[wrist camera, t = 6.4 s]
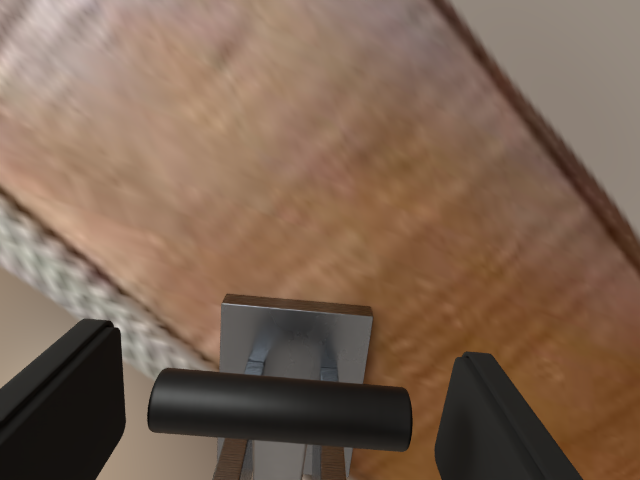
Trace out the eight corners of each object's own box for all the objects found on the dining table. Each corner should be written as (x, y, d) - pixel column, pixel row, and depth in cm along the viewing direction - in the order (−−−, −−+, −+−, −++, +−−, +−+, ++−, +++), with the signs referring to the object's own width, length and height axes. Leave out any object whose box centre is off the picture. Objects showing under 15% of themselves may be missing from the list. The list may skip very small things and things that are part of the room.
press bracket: (226, 293, 22) (124, 486, 10) (370, 306, 22) (426, 508, 10) (221, 451, 25) (139, 730, 13) (347, 461, 25) (369, 743, 14)
